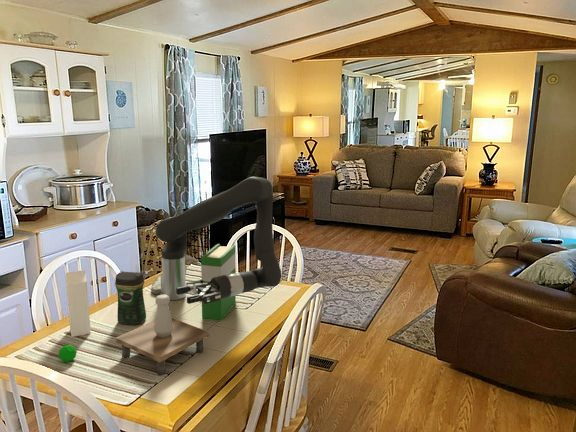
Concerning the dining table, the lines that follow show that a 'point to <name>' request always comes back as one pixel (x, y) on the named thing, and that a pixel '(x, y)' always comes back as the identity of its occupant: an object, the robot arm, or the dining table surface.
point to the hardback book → (216, 265)
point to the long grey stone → (157, 285)
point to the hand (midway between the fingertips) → (181, 295)
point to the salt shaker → (163, 317)
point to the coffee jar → (130, 298)
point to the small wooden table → (162, 342)
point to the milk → (78, 303)
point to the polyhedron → (67, 353)
